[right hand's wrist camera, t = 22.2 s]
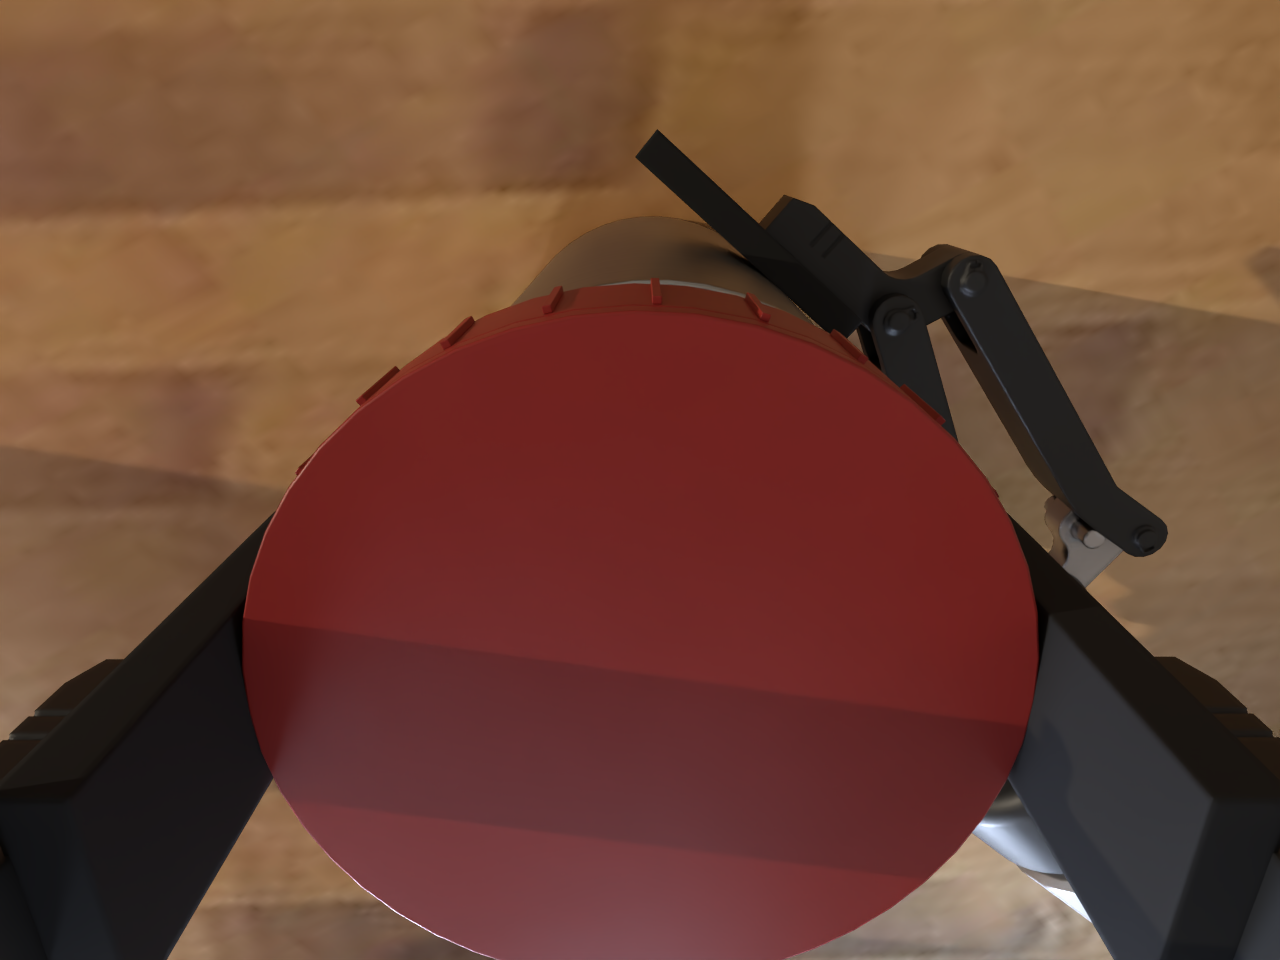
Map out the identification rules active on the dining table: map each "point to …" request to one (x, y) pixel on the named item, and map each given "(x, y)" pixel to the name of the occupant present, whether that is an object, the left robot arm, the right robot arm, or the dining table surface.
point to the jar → (657, 262)
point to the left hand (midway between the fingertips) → (518, 305)
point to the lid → (640, 634)
